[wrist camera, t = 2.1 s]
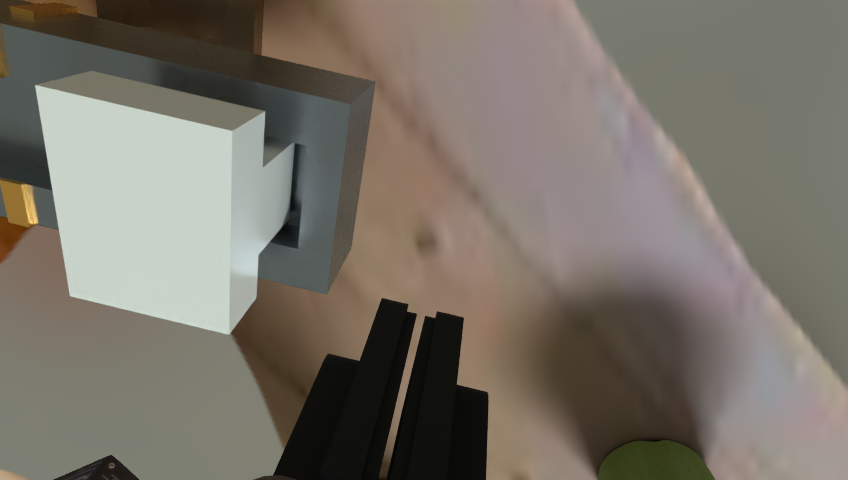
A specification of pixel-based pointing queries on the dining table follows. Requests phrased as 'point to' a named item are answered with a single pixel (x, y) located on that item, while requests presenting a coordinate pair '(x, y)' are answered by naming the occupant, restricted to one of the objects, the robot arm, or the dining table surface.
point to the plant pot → (654, 462)
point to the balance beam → (204, 76)
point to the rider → (162, 196)
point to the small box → (101, 471)
